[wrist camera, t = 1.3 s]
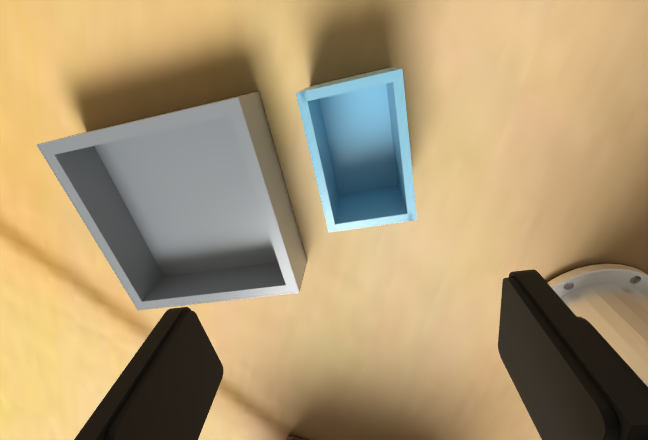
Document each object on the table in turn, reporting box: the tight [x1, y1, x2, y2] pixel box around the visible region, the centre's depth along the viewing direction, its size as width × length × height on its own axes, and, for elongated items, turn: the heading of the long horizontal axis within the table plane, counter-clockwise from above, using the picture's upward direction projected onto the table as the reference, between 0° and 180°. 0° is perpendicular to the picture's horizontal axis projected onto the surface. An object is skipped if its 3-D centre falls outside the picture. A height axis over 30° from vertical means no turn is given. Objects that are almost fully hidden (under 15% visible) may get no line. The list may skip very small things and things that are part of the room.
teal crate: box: [296, 67, 417, 232], centre depth 24 cm, size 6×10×6 cm, turn 12°
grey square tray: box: [37, 91, 307, 310], centre depth 29 cm, size 17×17×5 cm
